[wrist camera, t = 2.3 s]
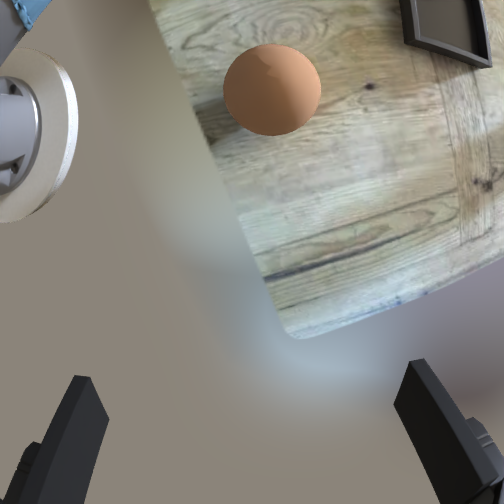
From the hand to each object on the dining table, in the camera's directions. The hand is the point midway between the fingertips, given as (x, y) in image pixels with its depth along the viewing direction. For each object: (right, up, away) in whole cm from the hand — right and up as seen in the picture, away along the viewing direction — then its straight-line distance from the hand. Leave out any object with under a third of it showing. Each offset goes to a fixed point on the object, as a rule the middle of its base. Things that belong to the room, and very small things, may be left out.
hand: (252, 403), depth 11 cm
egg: (+1, +22, +18) cm, 29 cm away
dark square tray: (+24, +37, +14) cm, 46 cm away
